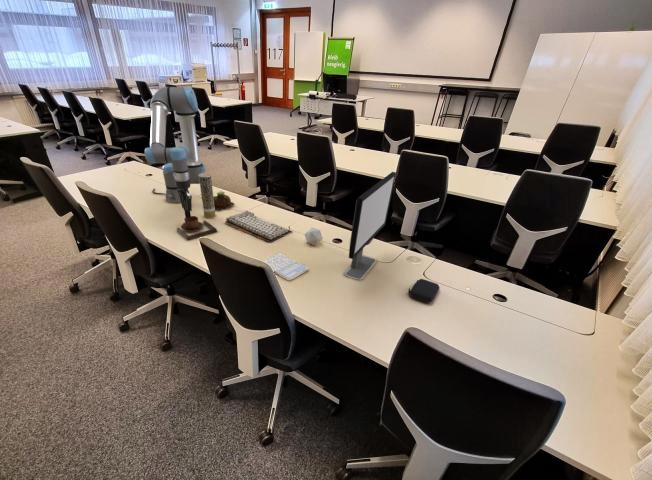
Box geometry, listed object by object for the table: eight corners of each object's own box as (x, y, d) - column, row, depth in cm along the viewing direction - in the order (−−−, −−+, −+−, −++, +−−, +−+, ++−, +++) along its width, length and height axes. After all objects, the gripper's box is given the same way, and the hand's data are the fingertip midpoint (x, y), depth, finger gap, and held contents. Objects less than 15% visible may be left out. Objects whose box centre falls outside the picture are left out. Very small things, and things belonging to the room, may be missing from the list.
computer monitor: (352, 290, 142) (368, 200, 118) (334, 284, 145) (346, 195, 121) (383, 252, 170) (401, 173, 146) (368, 248, 173) (383, 169, 149)
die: (324, 244, 177) (320, 226, 177) (321, 243, 168) (317, 224, 168) (309, 248, 179) (305, 230, 179) (306, 247, 171) (301, 228, 170)
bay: (177, 231, 184) (176, 228, 183) (205, 223, 193) (204, 220, 192) (188, 240, 175) (187, 237, 174) (216, 232, 184) (216, 228, 183)
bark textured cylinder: (216, 214, 204) (212, 173, 189) (213, 218, 198) (208, 176, 184) (206, 213, 204) (200, 172, 189) (202, 218, 199) (197, 176, 184)
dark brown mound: (219, 199, 224) (217, 185, 218) (239, 204, 218) (238, 189, 213) (203, 208, 211) (201, 193, 205) (224, 213, 206) (222, 197, 200)
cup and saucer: (196, 235, 181) (194, 224, 177) (177, 231, 184) (175, 221, 180) (207, 226, 190) (206, 216, 186) (189, 223, 193) (187, 213, 189)
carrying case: (415, 281, 149) (404, 296, 139) (416, 275, 147) (406, 290, 137) (439, 289, 144) (430, 306, 134) (441, 283, 142) (432, 300, 132)
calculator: (278, 255, 165) (278, 252, 164) (308, 270, 154) (309, 267, 153) (259, 265, 157) (258, 261, 156) (289, 281, 146) (289, 278, 145)
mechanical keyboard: (292, 231, 187) (292, 226, 185) (269, 243, 175) (269, 237, 173) (245, 214, 206) (245, 208, 204) (222, 223, 194) (221, 218, 192)
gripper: (170, 177, 176) (177, 219, 190) (180, 184, 168) (187, 227, 182) (183, 175, 180) (189, 216, 194) (194, 181, 172) (200, 223, 186)
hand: (188, 221), depth 188 cm, fingers closed
